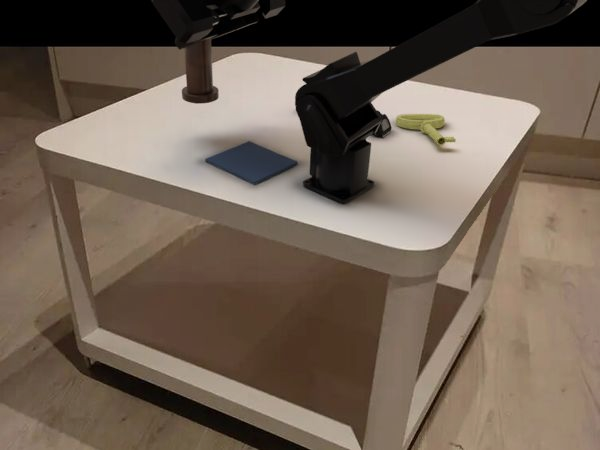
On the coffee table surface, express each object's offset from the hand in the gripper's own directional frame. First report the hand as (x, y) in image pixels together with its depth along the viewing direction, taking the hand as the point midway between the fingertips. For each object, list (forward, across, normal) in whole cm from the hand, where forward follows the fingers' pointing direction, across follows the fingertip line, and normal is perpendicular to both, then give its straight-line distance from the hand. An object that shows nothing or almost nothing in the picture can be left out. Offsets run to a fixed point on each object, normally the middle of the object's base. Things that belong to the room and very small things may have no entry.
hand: (189, 42), depth 79 cm
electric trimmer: (0, -17, +19) cm, 26 cm away
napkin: (+2, +1, +17) cm, 17 cm away
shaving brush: (+4, 0, +6) cm, 7 cm away
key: (-8, -22, +27) cm, 36 cm away
